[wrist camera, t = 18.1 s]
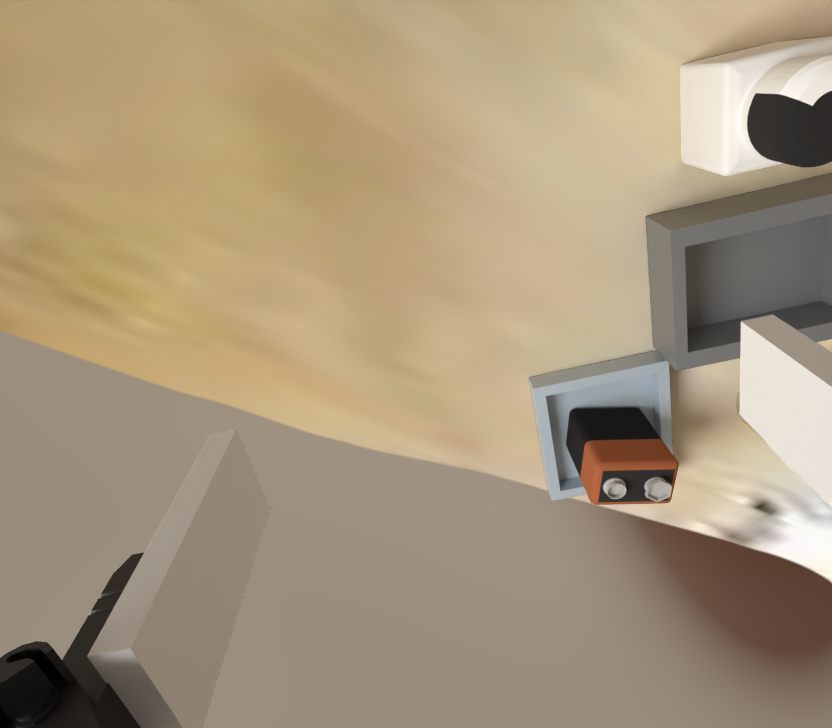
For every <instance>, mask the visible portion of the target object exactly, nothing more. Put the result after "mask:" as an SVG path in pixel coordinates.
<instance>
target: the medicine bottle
mask: <svg viewBox="0 0 832 728" xmlns="http://www.w3.org/2000/svg"><path fill="white" fill-rule="evenodd" d="M680 111H681V160H682V162H683V163H684V164H687V165H690V166H693V167H696V168H700V169H703V170H706V171H709V172H713V173H716V174H719V175H723V176H730V175H735V174H739V173H744V172H748V171H753V170H757V169H762V168H766V167H771V166H775V165H780V164H784V163H785V164H790V165H794V166H799V167H816V166H820V165H824V164H826V163H829V162H831V161H832V36H831V37H821V38H811V39H800V40H790V41H780V42H773V43H769V44H765V45H761V46H756V47H752V48H748V49H744V50H740V51H736V52H731V53H727V54H723V55H719V56H715V57H710V58H706V59H702V60H698V61H694V62H690V63H685V64H683V65H682V66H681V68H680Z"/></svg>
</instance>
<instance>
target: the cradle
mask: <svg viewBox="0 0 832 728" xmlns="http://www.w3.org/2000/svg"><path fill="white" fill-rule="evenodd" d="M646 232H647V249H648V266H649V283H650V300H651V318H652V335H653V347H654V348H655V349H656V350H657V351H658V352H659V353H660V354H661V355H662V356H663V357H664V358H665V360H666V361H667V362H668V363H669V364H670V365H671V366H672V367H673V368H674V369H675V370H676V371H679V370H684V369H689V368H694V367H699V366H703V365H708V364H713V363H718V362H723V361H727V360H732V359H737V358H740V343H741V321H744V320H749V319H754V318H758V317H763V316H768V315H772V314H773V315H774V316H776V317H778V318H779V319H781V320H782V321H784V322H785V323H787V324H788V325H790V326H792V327H793V328H795V329H796V330H798V331H799V332H801V333H802V334H804V335H806V336H807V337H809V338H810V339H812V340H813V341H815V342H819V341H824V340H828V339H832V173H830V174H826V175H822V176H817V177H813V178H809V179H804V180H800V181H796V182H791V183H787V184H783V185H778V186H774V187H770V188H765V189H761V190H757V191H753V192H748V193H744V194H740V195H735V196H731V197H727V198H722V199H718V200H714V201H709V202H705V203H701V204H697V205H692V206H688V207H684V208H679V209H675V210H671V211H666V212H662V213H658V214H653V215H649V216H646Z"/></svg>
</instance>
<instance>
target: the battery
mask: <svg viewBox="0 0 832 728" xmlns="http://www.w3.org/2000/svg"><path fill="white" fill-rule="evenodd" d="M566 446H567V449H568V451H569V453H570V456H571V458H572V460H573V462H574V465H575V467H576V469H577V472H578V474H579V476H580V479H581V481H582V483H583V485H584V488H585V490H586V492H587V495H588V497H589V499H590V501H591V503H593V504H596V505H604V504H651V503H668V502H670V500H671V497H672V493H673V488H674V484H675V480H676V475H677V471H678V466H679V463H678V461H677V460H676V459H675V457H674V456H673V454H672V453H671V452H670V450H669V449H668V447H667V446H666V444H665V443H664V442H663V440H662V439H661V437H660V436H659V435H658V433H657V432H656V430H655V429H654V428H653V426H652V425H651V423H650V422H649V421H648V419H647V418H646V416H645V415H644V413H643V412H642V411H641V409H639V408H586V409H572V410H571V411H570V413H569V421H568V429H567V438H566Z"/></svg>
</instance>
